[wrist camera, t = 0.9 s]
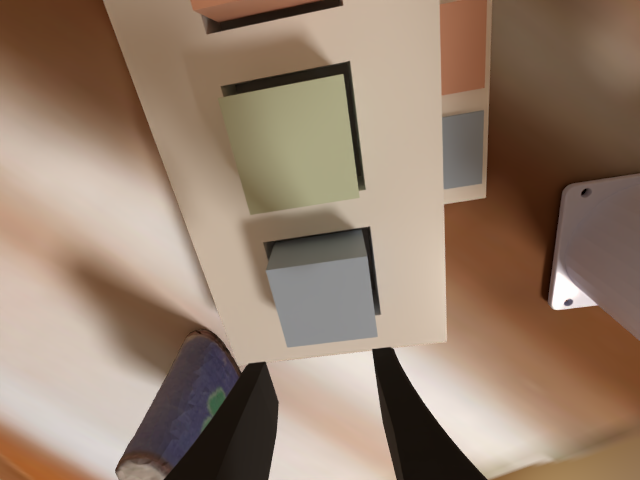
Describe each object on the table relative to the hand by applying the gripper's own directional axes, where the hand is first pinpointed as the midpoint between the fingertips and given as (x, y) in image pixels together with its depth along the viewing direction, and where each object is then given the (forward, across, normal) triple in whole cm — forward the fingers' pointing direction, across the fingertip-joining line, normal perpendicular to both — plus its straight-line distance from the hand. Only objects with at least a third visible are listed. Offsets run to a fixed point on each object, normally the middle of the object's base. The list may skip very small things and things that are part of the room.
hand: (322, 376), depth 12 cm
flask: (+10, +9, +9) cm, 16 cm away
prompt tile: (+9, -8, -7) cm, 14 cm away
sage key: (+7, 0, -7) cm, 10 cm away
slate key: (+7, 0, 0) cm, 7 cm away
